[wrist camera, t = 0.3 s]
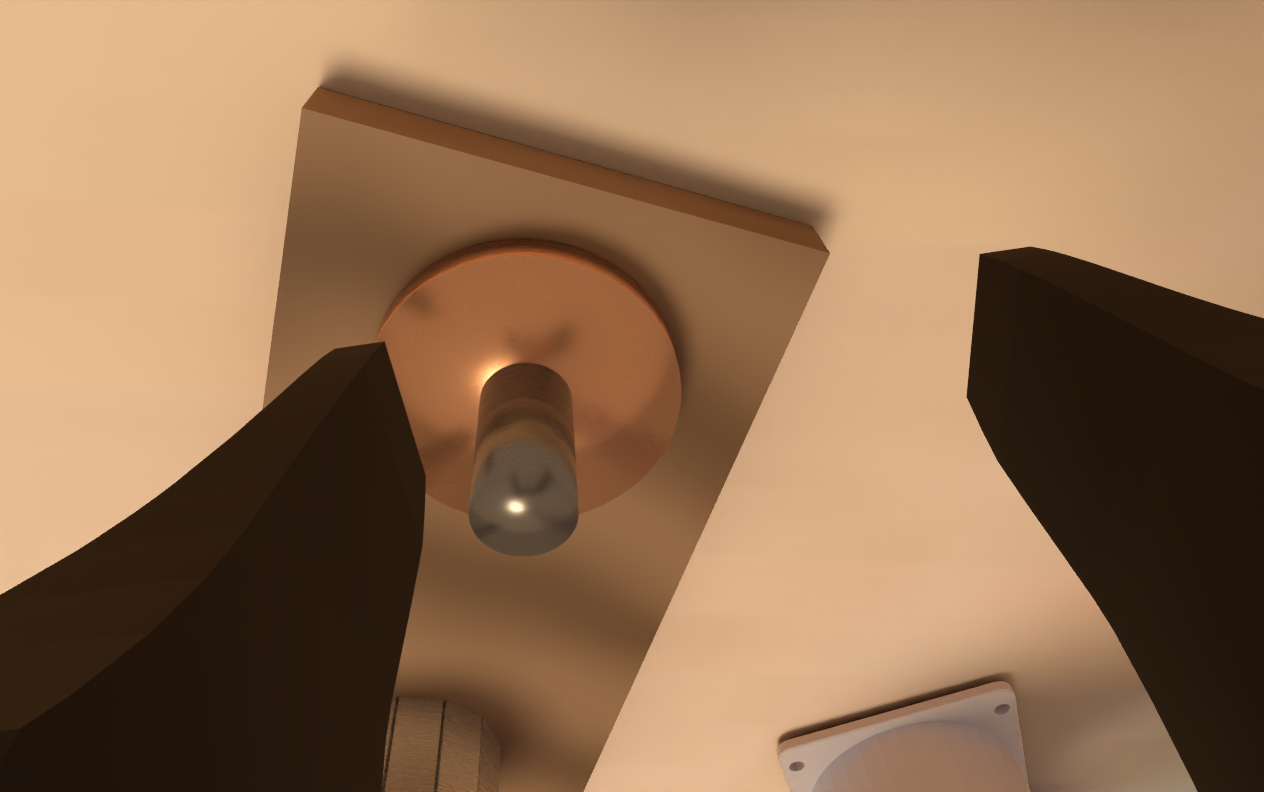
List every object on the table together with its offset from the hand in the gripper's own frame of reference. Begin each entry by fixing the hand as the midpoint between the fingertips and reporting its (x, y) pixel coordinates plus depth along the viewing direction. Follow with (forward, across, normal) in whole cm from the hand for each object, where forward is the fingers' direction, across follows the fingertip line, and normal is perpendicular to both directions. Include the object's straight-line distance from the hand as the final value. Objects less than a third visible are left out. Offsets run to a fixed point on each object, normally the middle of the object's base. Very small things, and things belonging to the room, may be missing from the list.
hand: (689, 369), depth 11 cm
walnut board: (+10, +6, +11) cm, 16 cm away
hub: (+8, +3, +5) cm, 10 cm away
